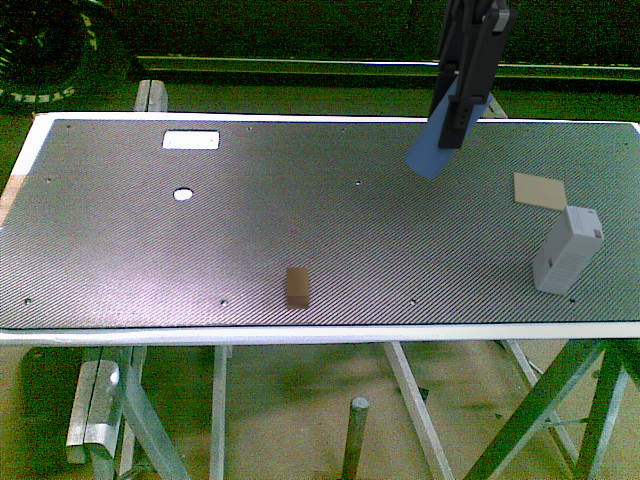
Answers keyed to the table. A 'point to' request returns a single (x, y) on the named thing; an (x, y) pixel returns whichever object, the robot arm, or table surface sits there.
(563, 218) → the cosmetic box
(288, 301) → the brown rectangular block
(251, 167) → the table surface
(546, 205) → the mat
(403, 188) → the table surface
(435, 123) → the tube
